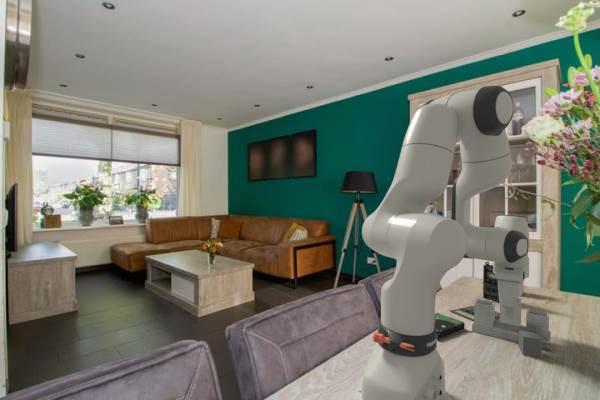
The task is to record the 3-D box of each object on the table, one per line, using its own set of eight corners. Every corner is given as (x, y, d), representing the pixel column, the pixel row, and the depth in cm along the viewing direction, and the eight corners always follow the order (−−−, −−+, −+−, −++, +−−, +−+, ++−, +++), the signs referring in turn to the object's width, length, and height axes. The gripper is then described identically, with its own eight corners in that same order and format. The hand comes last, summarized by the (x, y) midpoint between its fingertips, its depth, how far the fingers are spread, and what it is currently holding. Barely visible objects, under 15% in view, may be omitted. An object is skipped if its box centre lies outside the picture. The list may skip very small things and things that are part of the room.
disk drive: (435, 342, 88) (465, 330, 95) (435, 333, 88) (465, 322, 95) (407, 329, 97) (436, 319, 104) (407, 320, 97) (436, 311, 104)
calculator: (508, 315, 105) (479, 322, 99) (508, 318, 105) (479, 325, 99) (477, 304, 116) (449, 310, 110) (477, 306, 116) (449, 312, 110)
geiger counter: (478, 297, 125) (479, 261, 125) (486, 296, 127) (486, 260, 127) (503, 306, 115) (504, 267, 115) (511, 304, 117) (512, 266, 117)
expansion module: (520, 326, 87) (520, 301, 87) (499, 322, 90) (499, 298, 90) (521, 322, 90) (521, 298, 90) (501, 317, 93) (501, 294, 93)
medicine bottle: (523, 292, 131) (524, 265, 131) (521, 296, 126) (521, 268, 126) (504, 289, 136) (504, 263, 136) (501, 292, 131) (501, 265, 131)
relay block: (541, 358, 78) (541, 339, 78) (523, 355, 80) (523, 336, 80) (536, 351, 82) (536, 333, 82) (518, 348, 83) (519, 330, 83)
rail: (550, 350, 82) (551, 317, 82) (472, 331, 94) (472, 302, 94) (550, 342, 87) (550, 310, 86) (475, 324, 98) (475, 297, 98)
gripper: (501, 261, 100) (501, 302, 100) (494, 274, 84) (494, 322, 84) (525, 263, 96) (524, 306, 96) (522, 277, 80) (521, 329, 80)
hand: (510, 314), depth 90 cm, fingers closed on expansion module, 4 cm apart
